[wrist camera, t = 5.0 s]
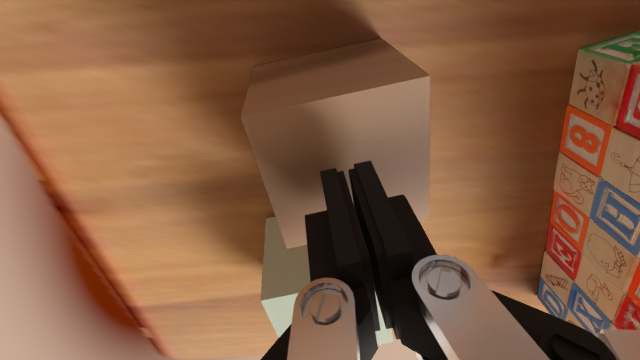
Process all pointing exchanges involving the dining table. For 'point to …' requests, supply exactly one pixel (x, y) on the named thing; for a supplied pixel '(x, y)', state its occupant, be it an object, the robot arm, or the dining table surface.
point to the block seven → (291, 281)
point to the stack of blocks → (598, 194)
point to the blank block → (338, 127)
